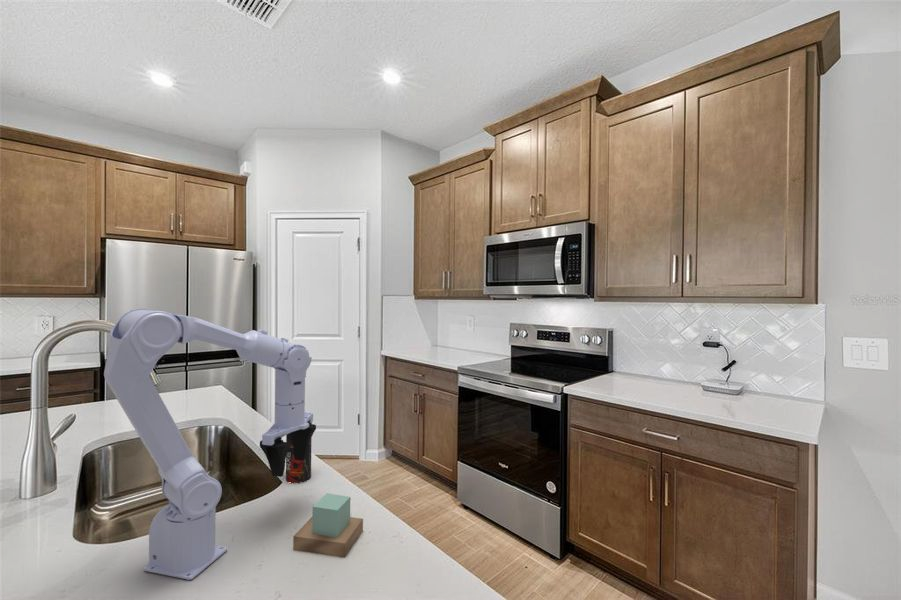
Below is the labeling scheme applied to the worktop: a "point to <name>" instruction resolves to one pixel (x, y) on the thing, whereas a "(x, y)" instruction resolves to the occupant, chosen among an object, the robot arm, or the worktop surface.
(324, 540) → the walnut block
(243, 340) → the robot arm
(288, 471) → the deodorant
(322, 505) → the sage cube
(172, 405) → the worktop surface
